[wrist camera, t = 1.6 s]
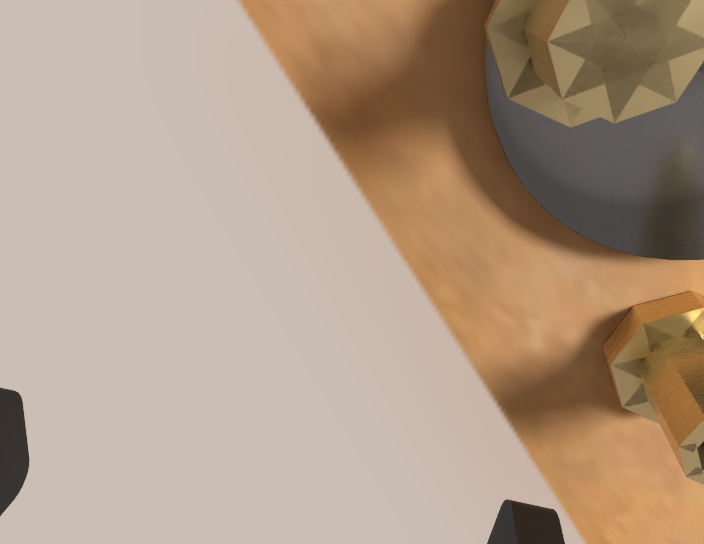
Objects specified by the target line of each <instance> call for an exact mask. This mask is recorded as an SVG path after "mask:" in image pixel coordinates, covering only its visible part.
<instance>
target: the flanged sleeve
mask: <svg viewBox="0 0 704 544" xmlns="http://www.w3.org/2000/svg"><path fill="white" fill-rule="evenodd" d="M603 351H604V354H605V358H606V361H607V365H608V368H609V372H610V375H611V379H612V382H613V386H614V389H615V391H616V394H617V396H618V398H619V401H620V403H621V405H622V408H625V409H627V410H629V411H631V412H634V413H636V414H638V415H641V416H643V417H645V418H648V419H650V420H652V421H655V422H657V423H659V424H660V425H661V427H662V429H663V431H664V433H665V435H666V437H667V439H668V441H669V443H670V445H671V447H672V449H673V451H674V453H675V455H676V457H677V459H678V462H679V464H680V466H681V468H682V470H683V472H684V474H685V476H686V477H687V478H690V479H692V480H694V481H697V482H699V483H701V484H704V296H701V295H699V294H697V293H695V292H692V291H690V292H686V293H682V294H678V295H674V296H671V297H667V298H663V299H659V300H655V301H651V302H648V303H644V304H640V305H636V306H633V307H632V308H631V310H630V311H629V312H628V314H627V315H626V316H625V318H624V319H623V320H622V322H621V323H620V324H619V326H618V327H617V328H616V330H615V331H614V332H613V334H612V335H611V336H610V338H609V339H608V340H607V341H606V343H605V344H604V345H603Z"/></svg>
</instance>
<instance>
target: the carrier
mask: <svg viewBox="0 0 704 544" xmlns="http://www.w3.org/2000/svg"><path fill="white" fill-rule="evenodd" d="M495 1H496V0H493V1H492V5H491V8H490V12H491V10H492V8H493V6H494V4H495ZM490 12H489V14H490ZM484 73H485V83H486V93H487V99H488V104H489V108H490V112H491V116H492V120H493V124H494V126H495V129H496V132H497V135H498V137H499V140H500V142H501V145H502V147H503V150H504V152H505V155H506V157H507V159H508V161H509V162H510V164H511V166H512V168H513V169H514V171H515V173H516V175H517V176H518V178H519V180H520V181H521V182H522V183H523V185H524V186H525V187H526V189H527V190H528V191H529V192H530V194H531V195H532V196H533V198H534V199H535V200H536V201H537V202H538V203H539V204H540V205H542V206H543V207H544V208H545V209H546V210H547V211H548V212H549V213H550V214H551V215H552V216H553V217H555V218H556V219H557V220H559V221H560V222H562V223H563V224H564V225H566V226H567V227H568V228H570V229H571V230H573V231H575V232H577V233H578V234H580V235H582V236H584V237H586V238H588V239H590V240H592V241H593V242H596V243H599V244H601V245H604V246H607V247H609V248H612V249H615V250H617V251H621V252H625V253H629V254H634V255H638V256H642V257H649V258H658V259H667V260H702V259H704V61H703V63H702V64H701V66H700V67H699V69H698V70H697V72H696V73H695V75H694V76H693V78H692V79H691V81H690V82H689V84H688V85H687V87H686V88H685V90H684V91H683V93H682V94H681V96H680V97H679V99H678V100H677V102H675V103H672V104H669V105H666V106H664V107H661V108H658V109H655V110H652V111H649V112H646V113H643V114H640V115H638V116H635V117H632V118H629V119H626V120H623V121H620V122H617V123H612V122H610V121H608V120H606V119H604V118H601V117H599V118H597V119H594V120H591V121H588V122H585V123H582V124H579V125H577V126H574V127H568V126H566V125H564V124H562V123H560V122H557V121H555V120H553V119H551V118H549V117H547V116H544V115H542V114H540V113H538V112H536V111H534V110H531V109H529V108H527V107H525V106H523V105H520V104H518V103H516V102H514V101H512V100H510V99H508V98H507V97H506V95H505V93H504V91H503V87H502V84H501V81H500V77H499V74H498V71H497V67H496V64H495V61H494V57H493V54H492V51H491V47H490V44H489V41H488V37H487V34H486V38H485V59H484Z"/></svg>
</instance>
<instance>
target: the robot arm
mask: <svg viewBox="0 0 704 544" xmlns="http://www.w3.org/2000/svg"><path fill="white" fill-rule="evenodd" d="M28 467H29V453H28V444H27V436H26V428H25V419H24V411H23V402H22V398H21V396H20V395H19V393H18V392H16V391H13V390H8V389H4V388H0V516H1V514H2V513H3V512H4V511H5V510H6V509H7V507H8V506H9V505H10V504H11V503H12V501H13V500H14V499H15V497H16V496H17V495H18V493H19V492H20V490H21V488H22V486H23V483H24V481H25V479H26V476H27V472H28ZM487 544H565V542H564V538H563V534H562V529H561V525H560V521H559V517H558V515H557V513H556V511H555V510H553V509H549V508H544V507H539V506H535V505H530V504H526V503H521V502H516V501H512V500H505V501H504V502H503V504H502V506H501V508H500V511H499V513H498V516H497V519H496V521H495V524H494V527H493V529H492V532H491V535H490V537H489V540H488V543H487Z"/></svg>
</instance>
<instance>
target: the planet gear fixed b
mask: <svg viewBox="0 0 704 544" xmlns="http://www.w3.org/2000/svg"><path fill="white" fill-rule="evenodd" d="M484 27H485V31H486V34H487V37H488V41H489V44H490V47H491V51H492V54H493V57H494V61H495V64H496V67H497V71H498V74H499V77H500V81H501V84H502V87H503V91H504V93H505V95H506V97H507V98H508V99H510V100H512V101H514V102H516V103H518V104H520V105H523V106H525V107H527V108H529V109H531V110H534V111H536V112H538V113H540V114H542V115H544V116H547V117H549V118H551V119H553V120H555V121H557V122H560V123H562V124H564V125H566V126H568V127H574V126H577V125H579V124H582V123H585V122H588V121H591V120H594V119H597V118H599V117H601V118H604V119H606V120H608V121H610V122H612V123H617V122H620V121H623V120H626V119H629V118H632V117H635V116H638V115H640V114H643V113H646V112H649V111H652V110H655V109H658V108H661V107H664V106H666V105H669V104H672V103H675V102H677V100H678V99H679V97H680V96H681V94H682V93H683V91H684V90H685V88H686V87H687V85H688V84H689V82H690V81H691V79H692V78H693V76H694V75H695V73H696V72H697V70H698V69H699V67H700V66H701V64H702V63H703V61H704V0H496V1H495V4H494V6H493V8H492V10H491V12H490V14H489V16H488V18H487V20H486V22H485V24H484Z"/></svg>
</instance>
